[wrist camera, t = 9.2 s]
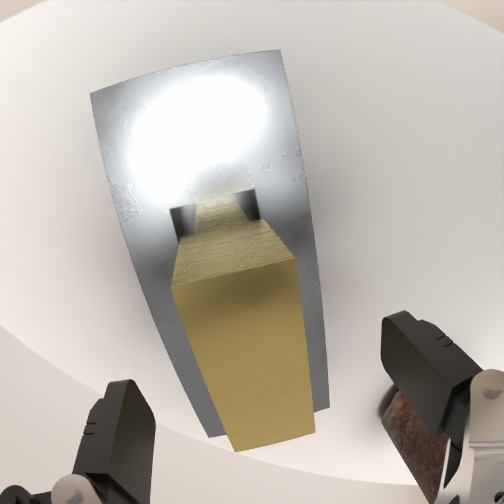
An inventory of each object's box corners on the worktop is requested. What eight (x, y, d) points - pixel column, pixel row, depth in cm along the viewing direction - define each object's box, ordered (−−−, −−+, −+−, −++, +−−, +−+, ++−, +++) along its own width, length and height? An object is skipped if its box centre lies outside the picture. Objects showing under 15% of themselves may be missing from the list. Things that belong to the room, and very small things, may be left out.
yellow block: (246, 198, 15) (295, 257, 7) (269, 317, 18) (315, 432, 10) (186, 211, 15) (170, 286, 7) (218, 330, 18) (235, 452, 10)
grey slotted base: (265, 65, 14) (279, 49, 11) (315, 378, 21) (329, 407, 18) (109, 102, 13) (89, 93, 10) (206, 405, 20) (208, 437, 17)
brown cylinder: (413, 420, 26) (503, 555, 7) (361, 426, 24) (452, 596, 5) (453, 363, 24) (572, 499, 5) (403, 362, 22) (541, 544, 3)
